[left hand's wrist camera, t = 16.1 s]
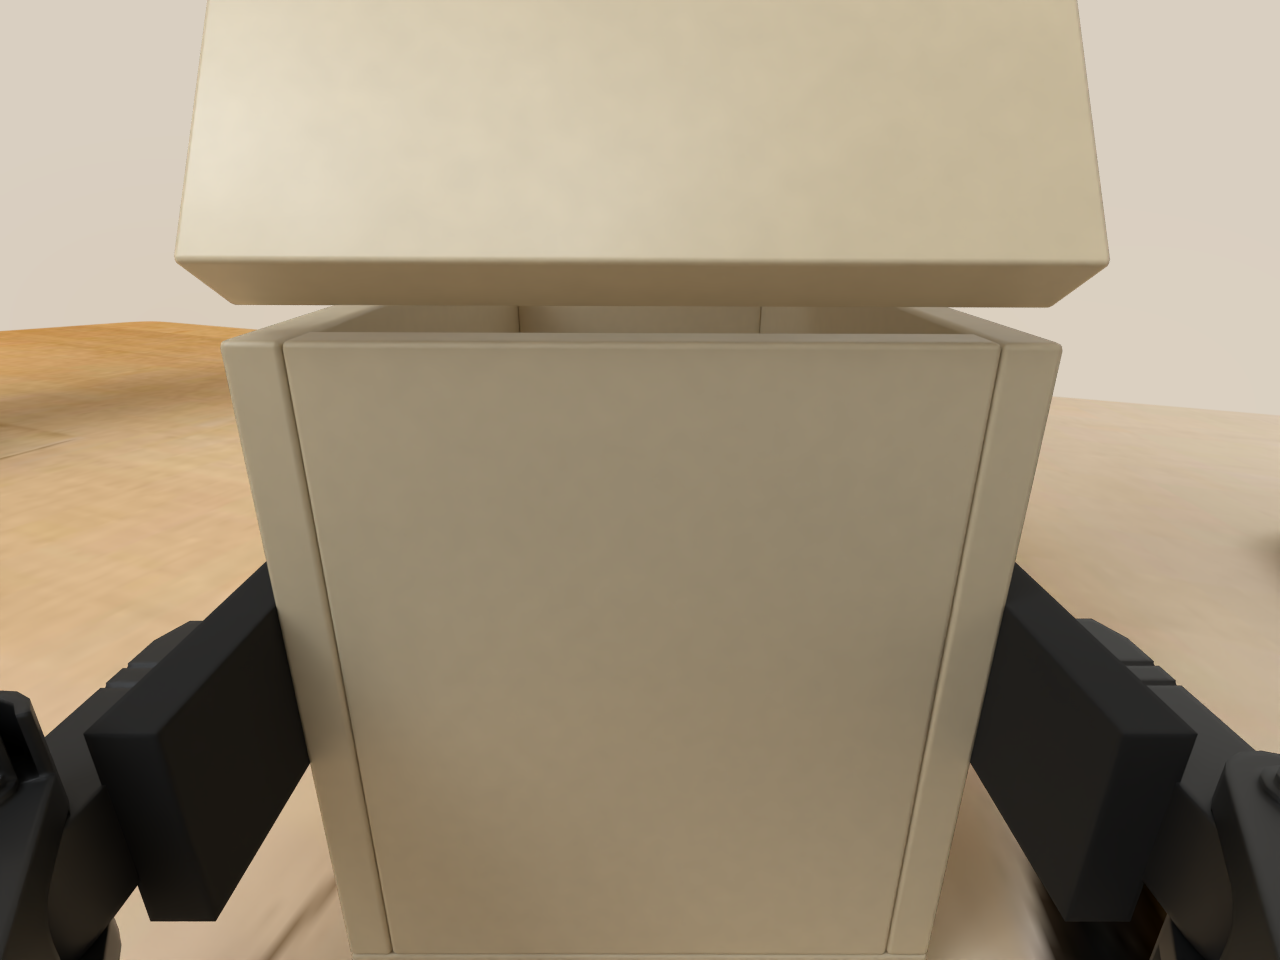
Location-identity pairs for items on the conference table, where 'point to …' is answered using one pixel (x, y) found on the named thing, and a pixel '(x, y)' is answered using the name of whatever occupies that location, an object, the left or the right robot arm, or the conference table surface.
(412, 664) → the chest
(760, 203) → the lid
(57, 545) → the conference table surface
